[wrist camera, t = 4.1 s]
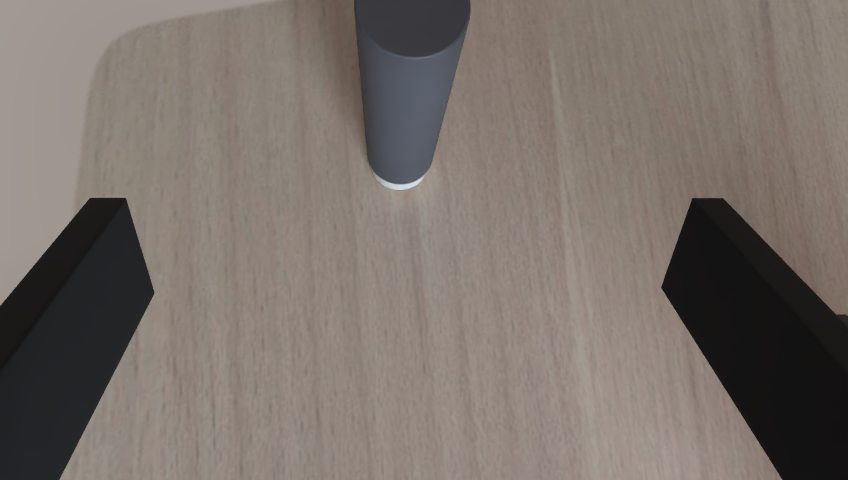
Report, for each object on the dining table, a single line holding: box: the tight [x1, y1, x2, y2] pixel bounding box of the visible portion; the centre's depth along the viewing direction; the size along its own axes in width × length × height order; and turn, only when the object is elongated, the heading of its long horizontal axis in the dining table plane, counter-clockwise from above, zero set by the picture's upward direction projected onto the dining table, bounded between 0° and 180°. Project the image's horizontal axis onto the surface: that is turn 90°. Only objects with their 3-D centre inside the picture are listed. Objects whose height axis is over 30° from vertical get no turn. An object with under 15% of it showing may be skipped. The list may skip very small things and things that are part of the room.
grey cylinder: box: [354, 0, 470, 190], centre depth 19 cm, size 3×3×12 cm
